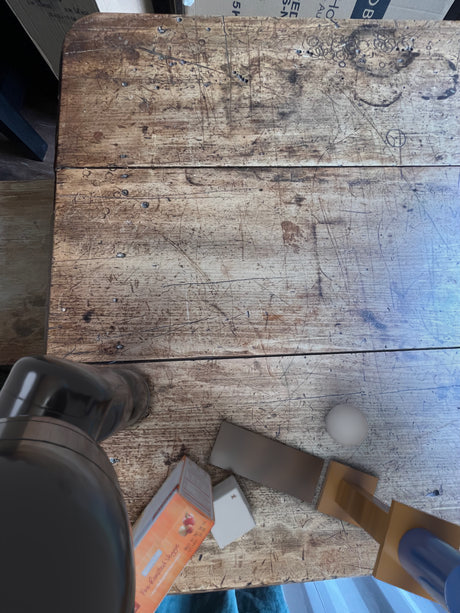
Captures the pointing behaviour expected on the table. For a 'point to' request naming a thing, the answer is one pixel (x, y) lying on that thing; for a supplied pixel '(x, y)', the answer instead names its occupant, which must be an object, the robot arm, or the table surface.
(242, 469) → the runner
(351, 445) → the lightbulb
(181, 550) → the cracker box
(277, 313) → the table surface
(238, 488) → the product box
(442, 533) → the stand
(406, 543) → the blue plastic cylinder
